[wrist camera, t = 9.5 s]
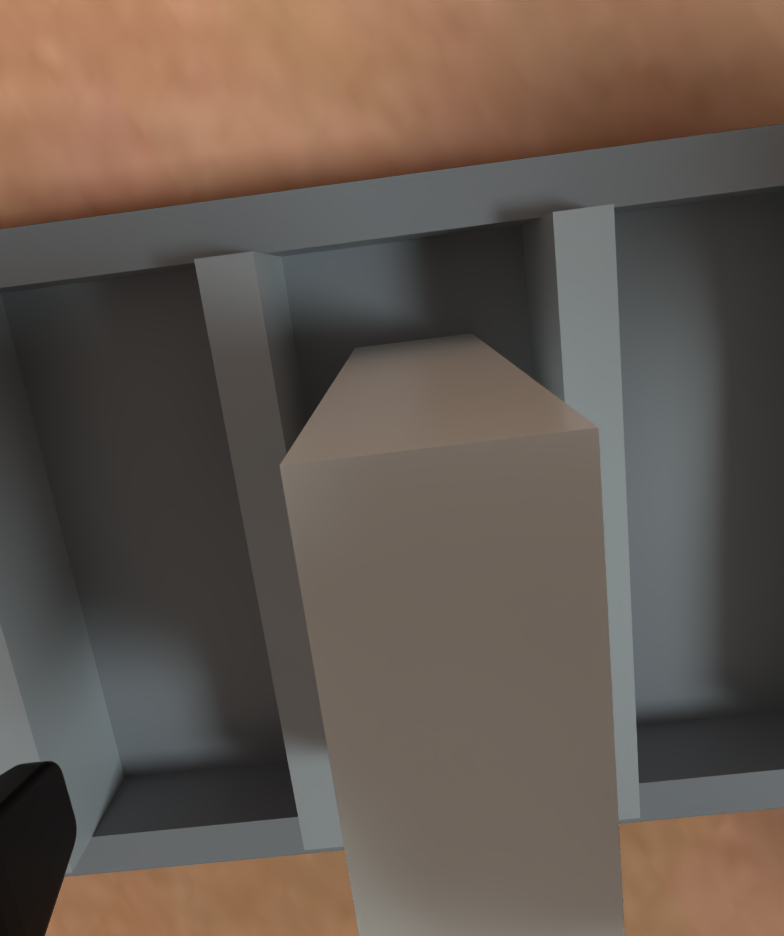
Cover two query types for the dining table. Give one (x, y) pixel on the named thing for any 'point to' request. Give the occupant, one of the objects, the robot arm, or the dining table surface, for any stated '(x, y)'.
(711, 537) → the rack
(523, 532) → the white rectangular block
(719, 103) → the dining table surface
